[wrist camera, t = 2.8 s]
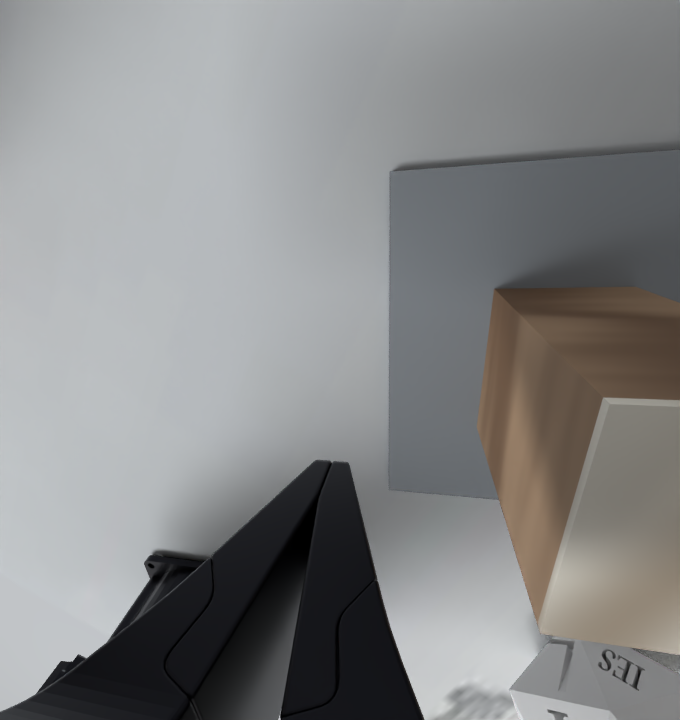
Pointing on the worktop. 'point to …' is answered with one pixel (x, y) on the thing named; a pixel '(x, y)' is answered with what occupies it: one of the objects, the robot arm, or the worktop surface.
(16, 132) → the worktop surface
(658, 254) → the rubber mat
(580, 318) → the wooden block
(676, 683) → the die
